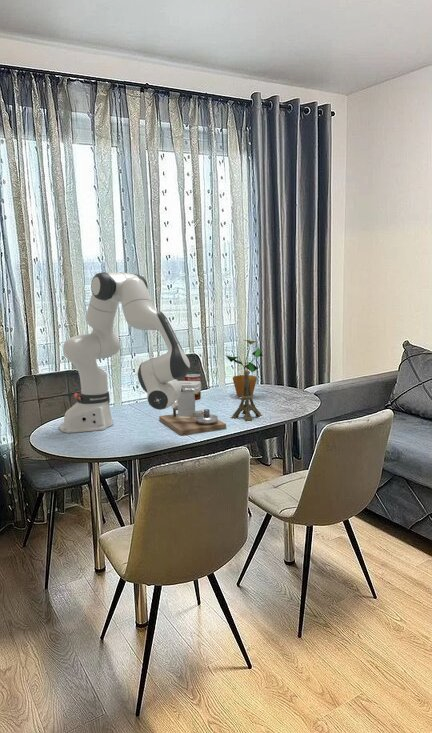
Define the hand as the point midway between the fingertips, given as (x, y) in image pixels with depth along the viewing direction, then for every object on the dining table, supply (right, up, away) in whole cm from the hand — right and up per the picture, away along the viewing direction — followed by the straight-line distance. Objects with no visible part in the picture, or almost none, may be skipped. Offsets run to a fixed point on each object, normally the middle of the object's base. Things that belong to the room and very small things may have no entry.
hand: (179, 382), depth 223 cm
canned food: (+3, -10, +64) cm, 65 cm away
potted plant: (+29, -9, +67) cm, 74 cm away
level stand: (+4, -18, +18) cm, 26 cm away
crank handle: (+5, -16, +15) cm, 23 cm away
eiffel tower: (+28, -16, +28) cm, 43 cm away
